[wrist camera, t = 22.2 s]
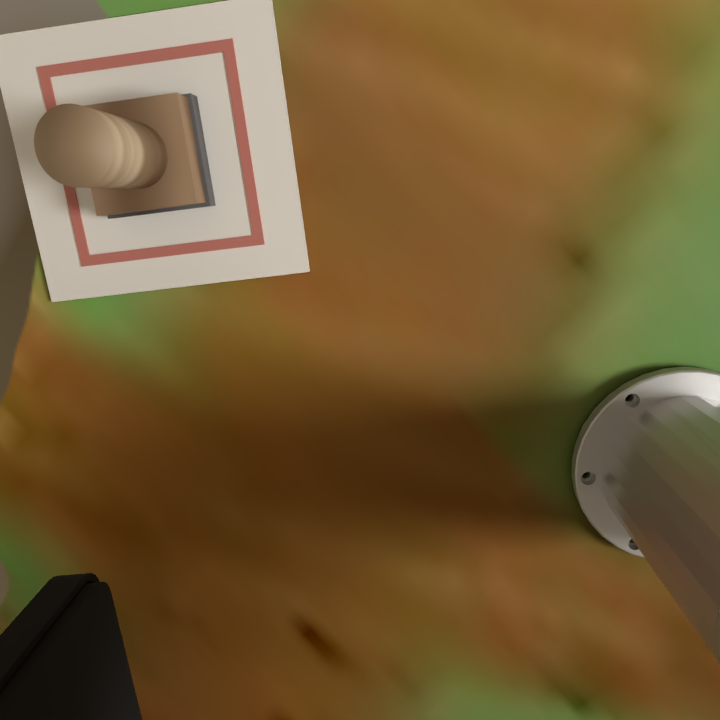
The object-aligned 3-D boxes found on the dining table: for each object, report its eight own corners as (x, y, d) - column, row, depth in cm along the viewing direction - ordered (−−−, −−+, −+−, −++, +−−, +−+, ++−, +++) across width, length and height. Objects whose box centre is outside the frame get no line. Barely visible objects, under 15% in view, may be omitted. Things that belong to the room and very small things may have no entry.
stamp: (196, 96, 36) (126, 60, 27) (215, 205, 38) (155, 209, 28) (94, 110, 37) (-12, 80, 27) (116, 218, 38) (23, 226, 28)
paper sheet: (271, -5, 35) (270, -7, 35) (310, 271, 39) (309, 272, 38) (-9, 37, 36) (-13, 36, 36) (54, 301, 40) (50, 302, 39)
